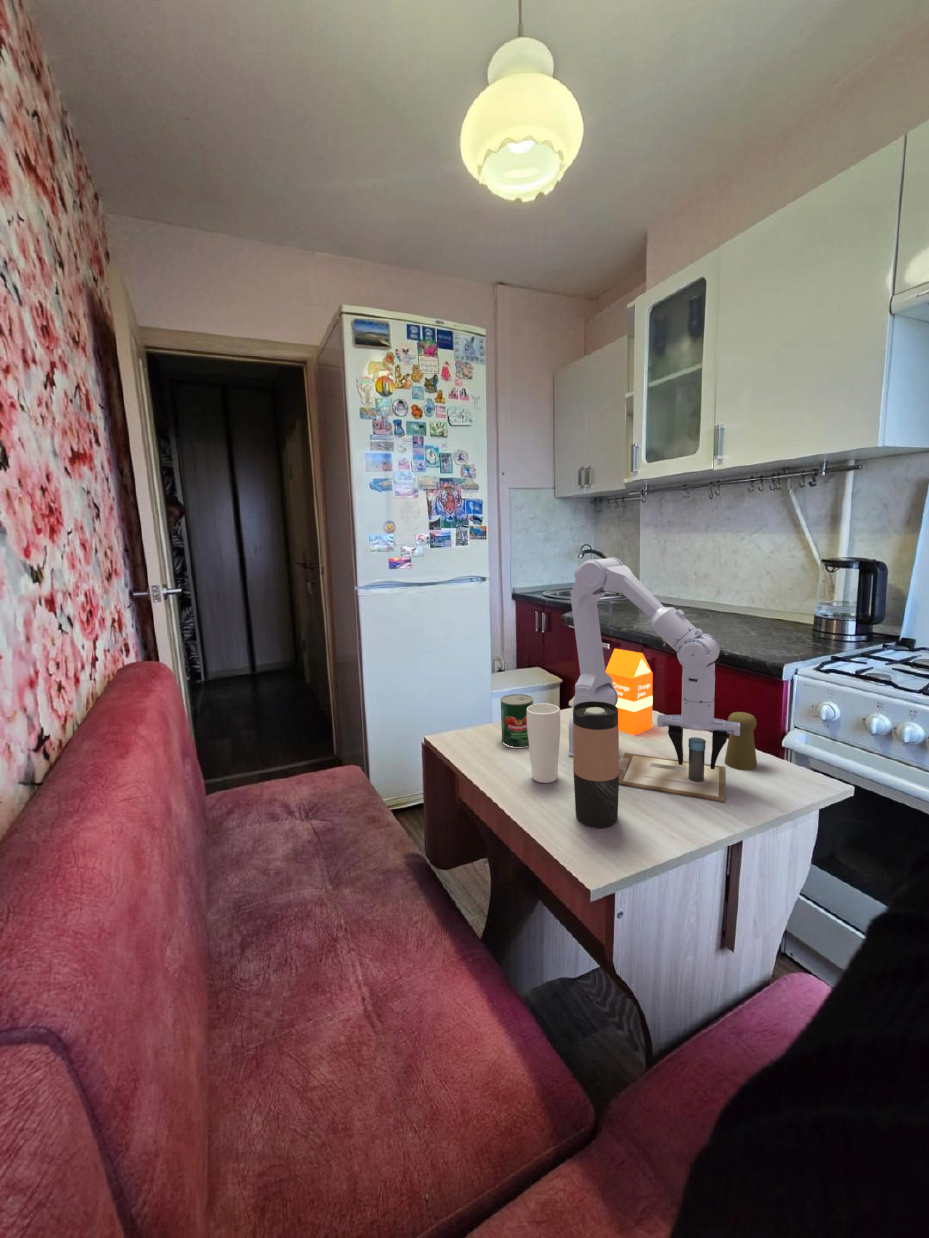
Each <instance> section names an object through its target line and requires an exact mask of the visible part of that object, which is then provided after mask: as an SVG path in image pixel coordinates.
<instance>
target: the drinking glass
mask: <svg viewBox="0 0 929 1238" xmlns="http://www.w3.org/2000/svg"><path fill="white" fill-rule="evenodd" d="M526 720H527V734H528V742H529V747H528V749H529V756H530V766H531V777H532V779H533V781H536V782H537V783H540V784H541V783H542V784H550V783H553V782H556V781H557V779H558V778H559V777H558V776H559V754H560V738H561V708H560V707H559V706H558V705H556V704H552V703H543V702H542V703H533V705H530V706H528V707H527V715H526Z"/></svg>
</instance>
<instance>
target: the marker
mask: <svg viewBox="0 0 929 1238" xmlns="http://www.w3.org/2000/svg"><path fill="white" fill-rule="evenodd" d="M706 743H707V742H706V739H704V738H701V737H697V736H696V737H689V738H688V762H689V774H688V778H689V780H691V781H694V782H703V781H704V764H705V752H706V751H705V750H706Z"/></svg>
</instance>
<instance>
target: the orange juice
mask: <svg viewBox="0 0 929 1238" xmlns="http://www.w3.org/2000/svg"><path fill="white" fill-rule="evenodd" d="M605 671H606V673H607V674H608V675H609V676H610V677H611V678H612V683H613V686H614V688H615V689H616V691H617V694H618V702H617V704H616V707H617V708H618V730H619V731H620V732H622V733H626V734H629V735H632V736H636V735H639V734H641V733H644V732H645V731H648V730H651V729H653V702H654V701H653V700H654V697H653V680H654V679H653V675H654V674H653V671H652V670H651V667H650V665H649V663H648V662H647V659H646V657H645V655H644V653H643V652H639V651H638V652H636V651H632V650H626V649H619V648H614V649H613V652H612V654H611V656H610V659H609V661H608V664H607V666H606V667H605Z"/></svg>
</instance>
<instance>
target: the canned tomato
mask: <svg viewBox="0 0 929 1238" xmlns="http://www.w3.org/2000/svg"><path fill="white" fill-rule="evenodd" d="M533 704H534V698H533V697H532V696H531V695H528V694H525V693H524V694H523V693H514V694H507V695H504V696H502V697H501V698H500V718H501V719H500V720H501V721H500V722H501V743H502V742H504V743H505V744H507V745H509V746H513V747H526V746H529V742H528V734H527V720H526V715H527V707H528V706H530V705H533ZM526 748H527V747H526Z"/></svg>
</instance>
